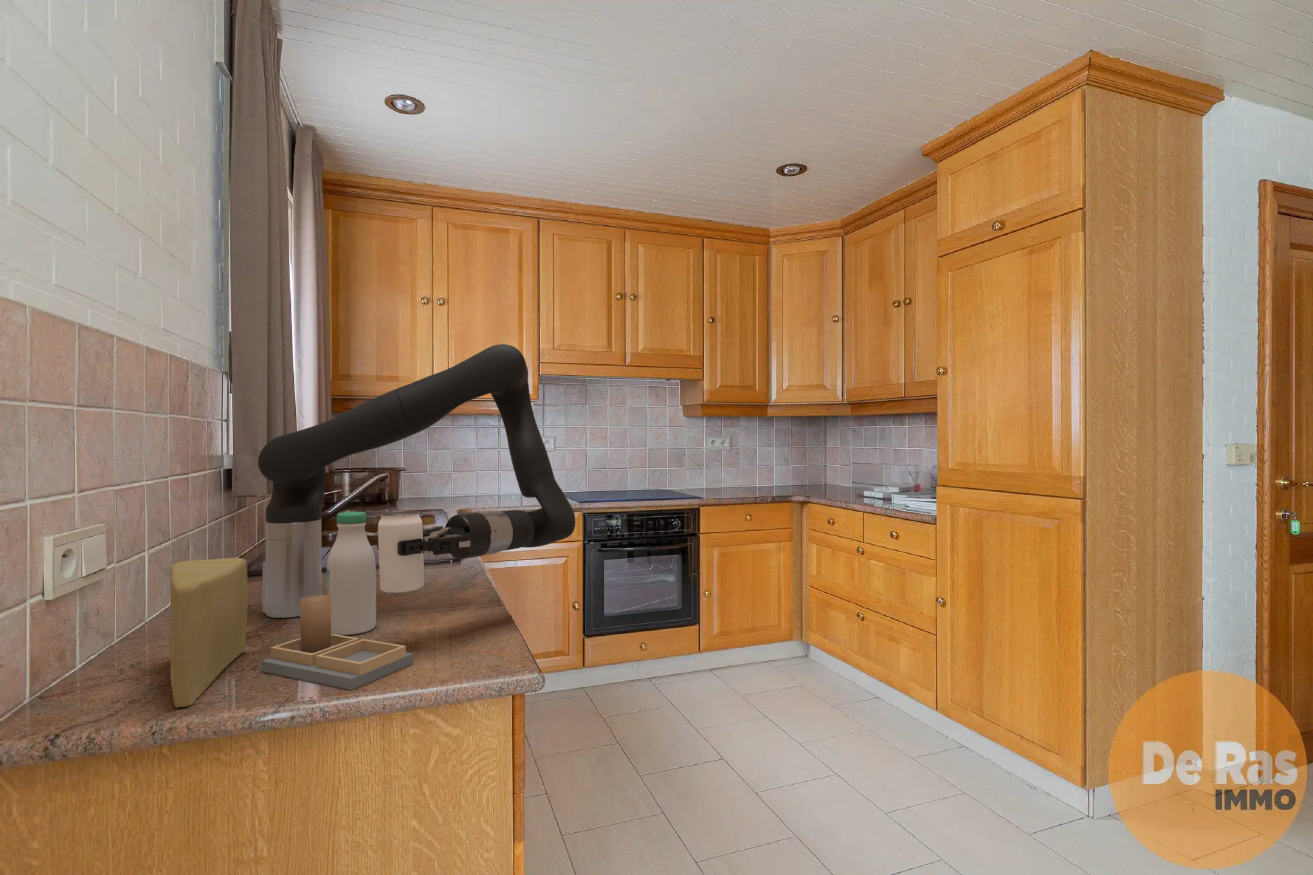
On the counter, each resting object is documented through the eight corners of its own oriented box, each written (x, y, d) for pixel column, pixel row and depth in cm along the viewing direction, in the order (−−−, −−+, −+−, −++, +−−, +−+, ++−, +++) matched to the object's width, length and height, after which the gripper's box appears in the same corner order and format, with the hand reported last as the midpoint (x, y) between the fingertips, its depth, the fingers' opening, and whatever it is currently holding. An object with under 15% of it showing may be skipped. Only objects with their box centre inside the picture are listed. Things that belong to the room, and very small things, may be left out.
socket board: (261, 671, 95) (261, 604, 94) (327, 648, 105) (327, 587, 105) (351, 690, 88) (351, 617, 88) (413, 663, 98) (413, 598, 98)
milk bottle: (385, 625, 117) (385, 511, 117) (352, 638, 110) (352, 516, 110) (350, 621, 120) (350, 509, 120) (315, 633, 112) (315, 514, 112)
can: (409, 594, 101) (406, 515, 101) (371, 593, 102) (368, 515, 102) (432, 584, 107) (430, 509, 107) (396, 584, 109) (393, 510, 109)
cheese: (229, 702, 84) (229, 582, 84) (132, 716, 80) (132, 590, 80) (248, 651, 104) (248, 554, 104) (171, 660, 100) (171, 559, 99)
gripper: (454, 508, 120) (363, 517, 107) (507, 516, 112) (415, 526, 98) (453, 550, 120) (363, 564, 107) (506, 561, 112) (415, 577, 98)
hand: (388, 546), depth 103 cm, fingers closed on can, 5 cm apart
